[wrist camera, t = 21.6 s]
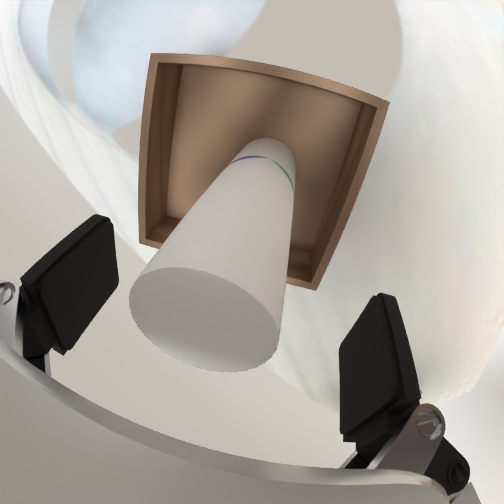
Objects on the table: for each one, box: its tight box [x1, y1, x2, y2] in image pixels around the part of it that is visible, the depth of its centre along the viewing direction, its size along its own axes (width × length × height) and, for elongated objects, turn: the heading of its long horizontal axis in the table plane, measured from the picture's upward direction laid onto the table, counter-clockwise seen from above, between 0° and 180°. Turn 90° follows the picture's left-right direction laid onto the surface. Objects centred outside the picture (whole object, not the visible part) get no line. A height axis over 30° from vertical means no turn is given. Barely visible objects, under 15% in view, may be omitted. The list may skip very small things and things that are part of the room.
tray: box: [138, 53, 390, 290], centre depth 20 cm, size 14×14×9 cm
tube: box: [129, 138, 296, 372], centre depth 13 cm, size 4×4×15 cm
